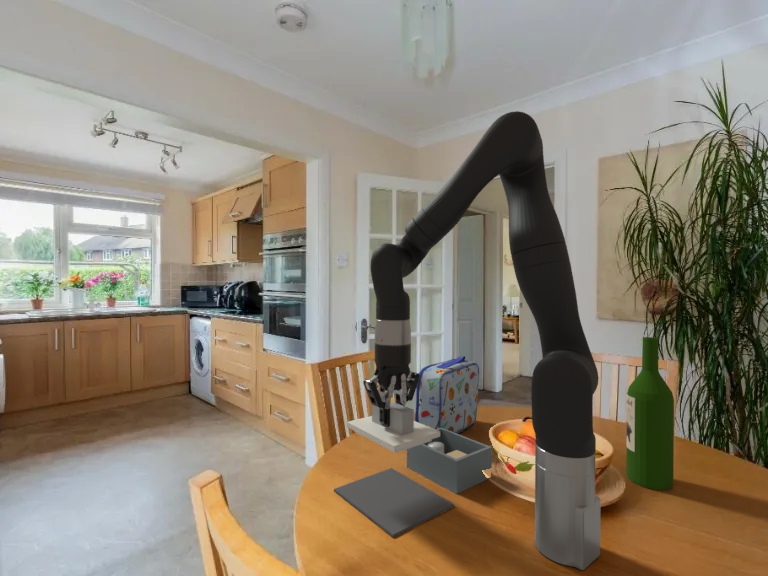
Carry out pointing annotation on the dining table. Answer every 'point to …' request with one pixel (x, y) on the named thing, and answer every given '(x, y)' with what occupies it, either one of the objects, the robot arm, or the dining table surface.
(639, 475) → the wine bottle
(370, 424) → the lid
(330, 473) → the dining table surface
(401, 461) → the dining table surface
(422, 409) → the lunch box
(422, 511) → the mat
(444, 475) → the storage box
